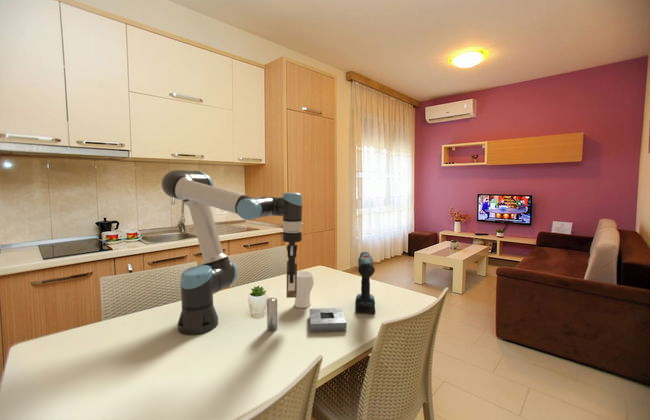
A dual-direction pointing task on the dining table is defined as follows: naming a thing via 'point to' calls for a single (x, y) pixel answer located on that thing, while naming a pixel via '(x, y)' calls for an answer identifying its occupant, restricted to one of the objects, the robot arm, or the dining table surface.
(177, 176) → the robot arm
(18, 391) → the dining table surface
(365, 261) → the power drill
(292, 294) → the square bit
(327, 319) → the socket block
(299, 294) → the cup
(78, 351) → the dining table surface
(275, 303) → the round bit
